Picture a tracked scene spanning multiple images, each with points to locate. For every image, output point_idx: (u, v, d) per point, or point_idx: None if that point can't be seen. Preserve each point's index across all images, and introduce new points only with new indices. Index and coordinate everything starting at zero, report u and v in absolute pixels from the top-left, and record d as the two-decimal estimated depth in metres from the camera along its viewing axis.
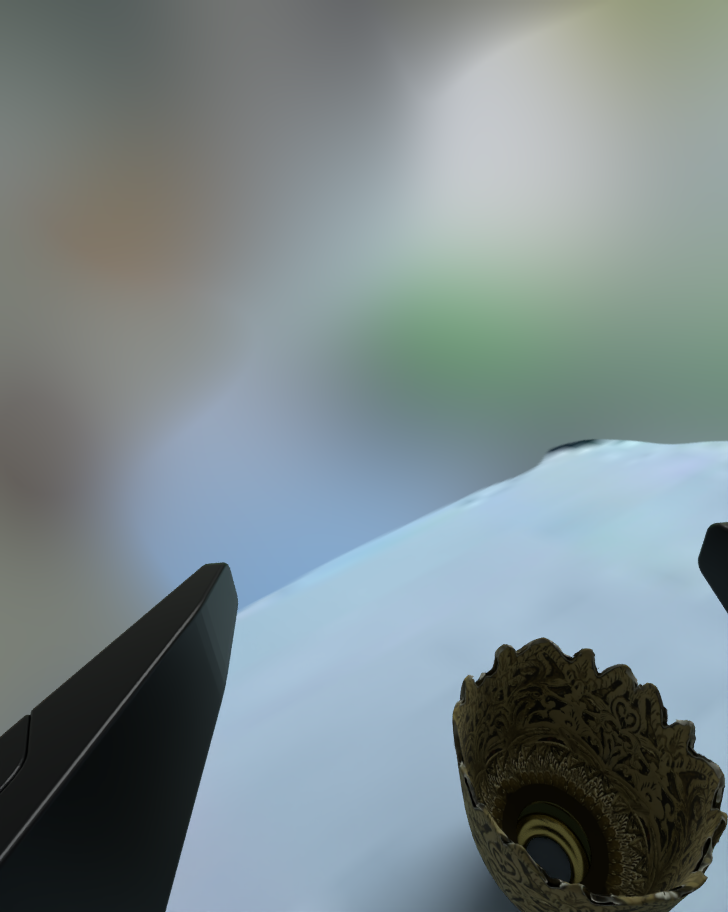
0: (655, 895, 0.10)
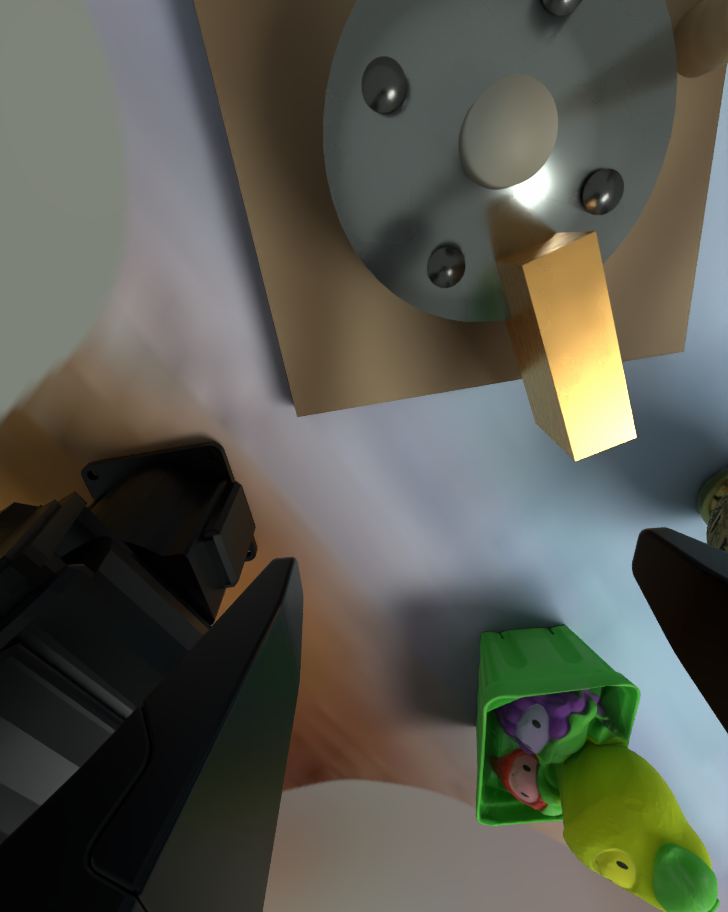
0: None
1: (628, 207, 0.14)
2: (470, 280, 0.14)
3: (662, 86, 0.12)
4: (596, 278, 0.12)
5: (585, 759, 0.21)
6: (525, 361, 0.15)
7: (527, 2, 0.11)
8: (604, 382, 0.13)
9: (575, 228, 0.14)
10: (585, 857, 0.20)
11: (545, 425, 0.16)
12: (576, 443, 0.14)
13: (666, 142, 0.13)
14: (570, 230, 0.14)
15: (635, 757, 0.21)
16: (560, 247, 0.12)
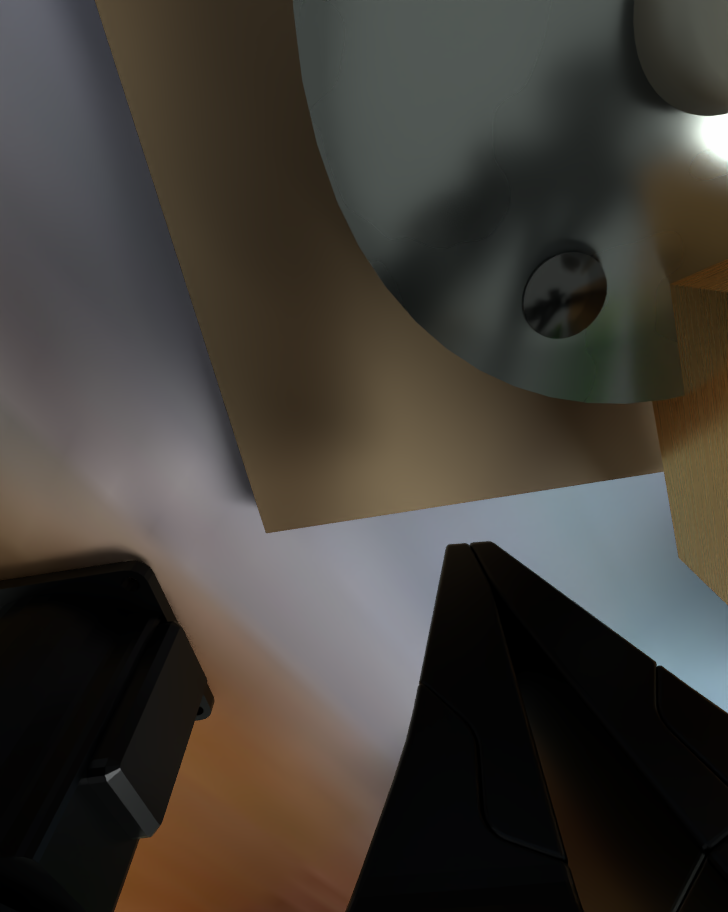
0: None
1: None
2: (611, 322, 0.07)
3: None
4: None
5: None
6: (697, 474, 0.08)
7: None
8: None
9: None
10: None
11: (716, 581, 0.09)
12: None
13: None
14: None
15: None
16: None
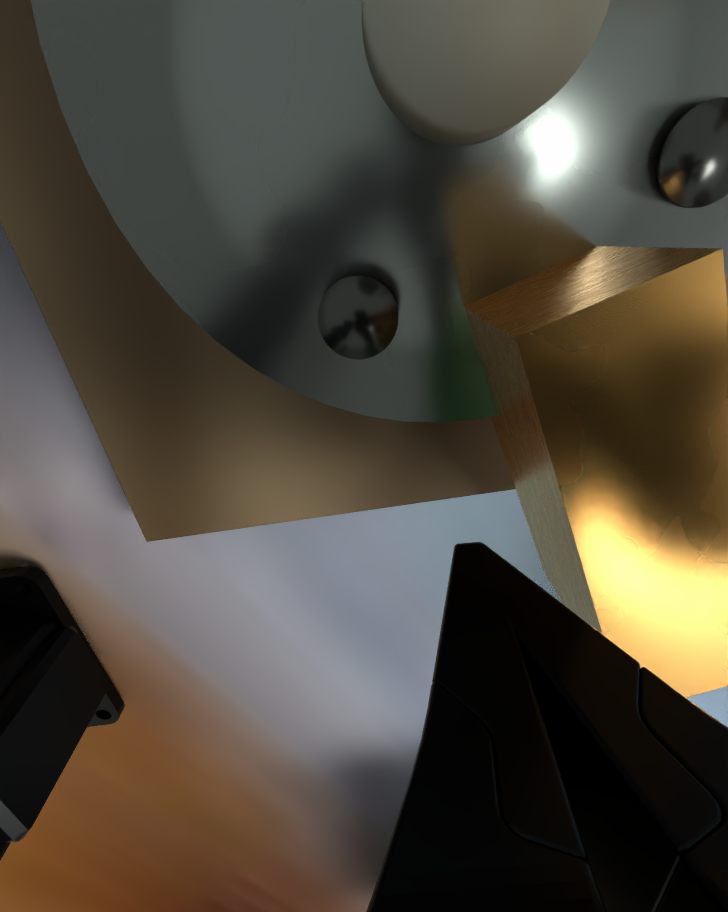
0: None
1: None
2: (411, 343, 0.07)
3: None
4: (709, 371, 0.05)
5: None
6: (526, 492, 0.08)
7: None
8: (702, 585, 0.06)
9: (637, 237, 0.06)
10: None
11: (562, 596, 0.09)
12: None
13: None
14: (626, 241, 0.06)
15: None
16: (620, 291, 0.04)
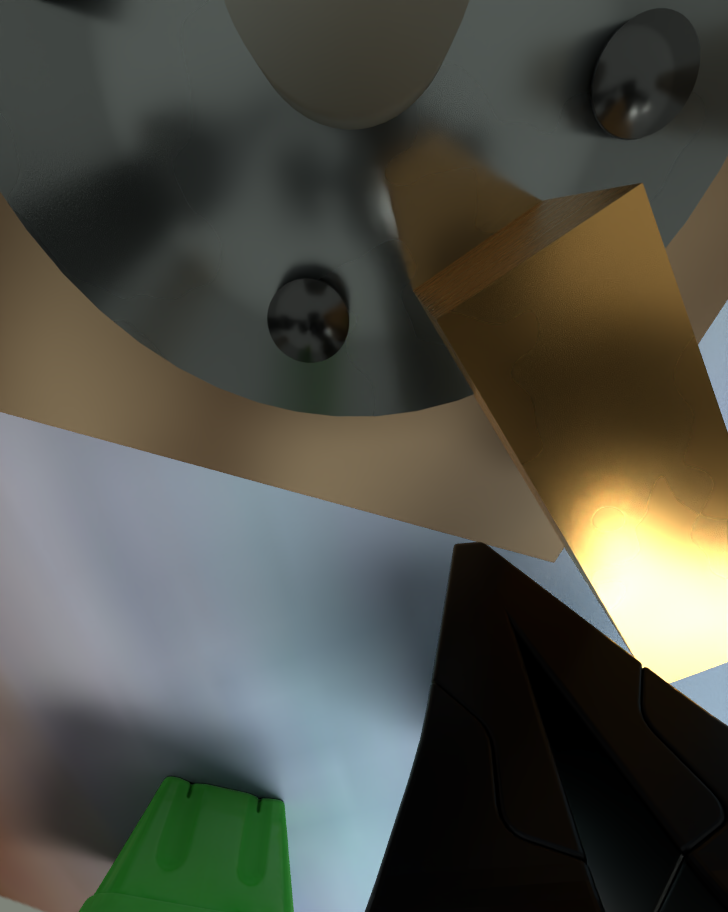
0: None
1: (715, 103, 0.05)
2: (368, 337, 0.07)
3: None
4: (658, 316, 0.04)
5: None
6: (519, 468, 0.08)
7: None
8: (707, 546, 0.05)
9: (584, 183, 0.06)
10: None
11: None
12: (651, 659, 0.06)
13: None
14: (573, 189, 0.06)
15: None
16: (538, 250, 0.04)
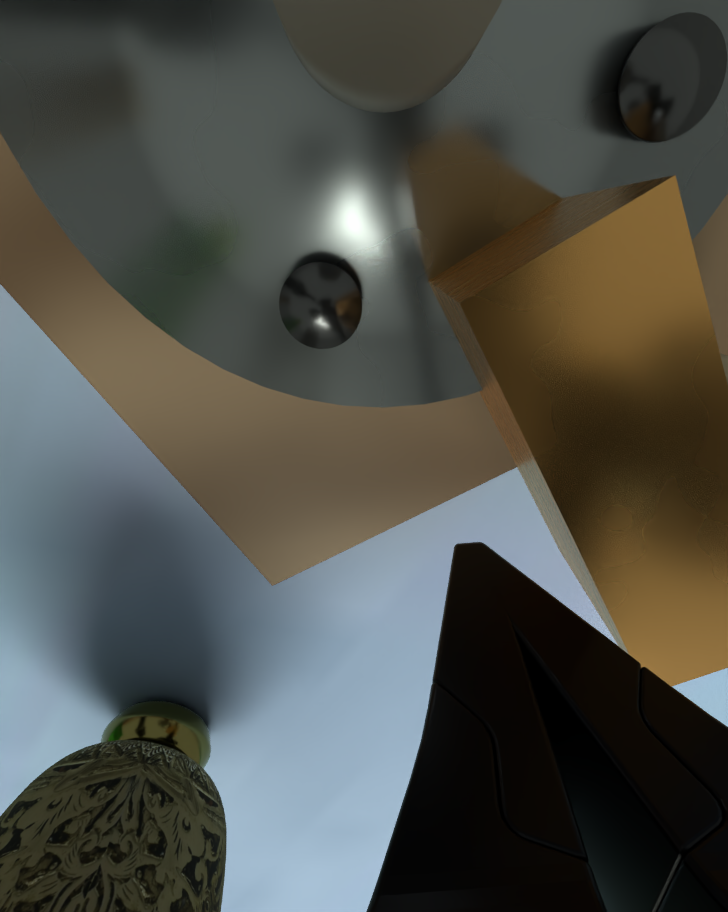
0: None
1: None
2: (380, 326, 0.07)
3: None
4: (682, 313, 0.04)
5: None
6: (522, 468, 0.08)
7: None
8: (712, 550, 0.05)
9: (605, 182, 0.06)
10: None
11: (576, 575, 0.08)
12: (648, 664, 0.06)
13: None
14: (594, 188, 0.06)
15: None
16: (566, 238, 0.04)
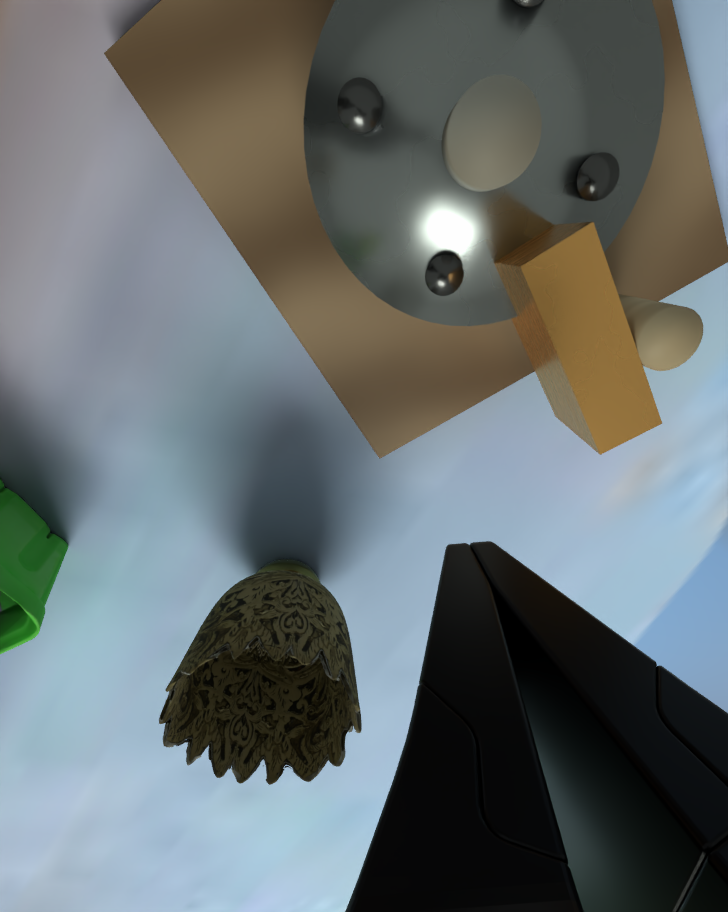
0: (190, 674, 0.15)
1: (626, 188, 0.13)
2: (470, 284, 0.14)
3: (648, 60, 0.12)
4: (599, 268, 0.12)
5: None
6: (537, 357, 0.15)
7: None
8: (621, 372, 0.13)
9: (572, 217, 0.13)
10: None
11: (565, 419, 0.16)
12: (599, 436, 0.14)
13: (659, 115, 0.12)
14: (568, 220, 0.13)
15: None
16: (558, 243, 0.11)
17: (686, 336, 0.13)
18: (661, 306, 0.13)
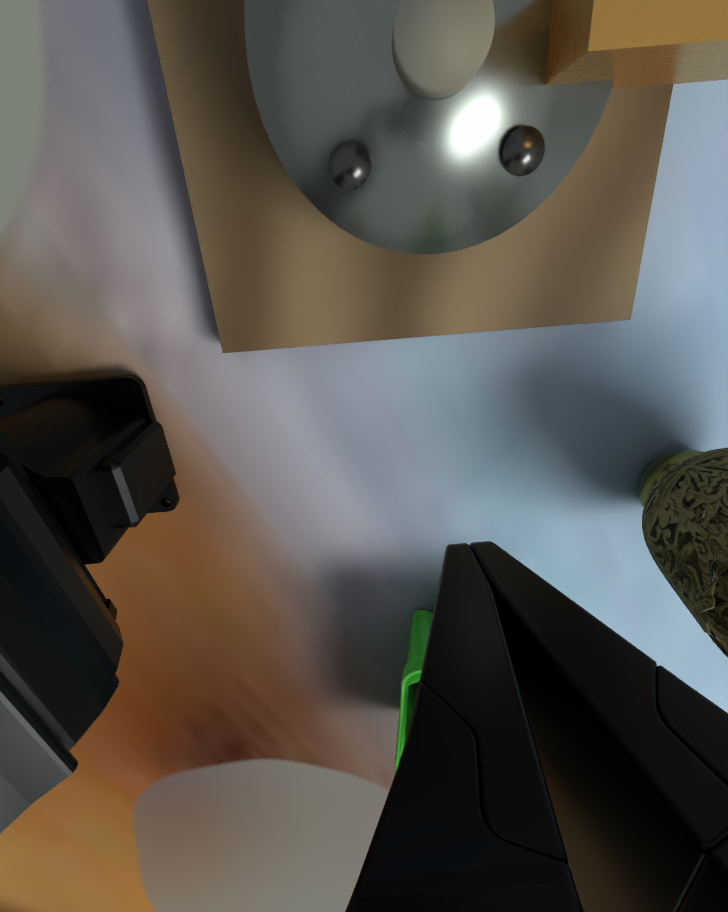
0: (714, 606, 0.15)
1: None
2: (548, 124, 0.12)
3: None
4: None
5: None
6: (674, 73, 0.12)
7: None
8: None
9: None
10: None
11: None
12: None
13: None
14: None
15: None
16: None
17: None
18: None
